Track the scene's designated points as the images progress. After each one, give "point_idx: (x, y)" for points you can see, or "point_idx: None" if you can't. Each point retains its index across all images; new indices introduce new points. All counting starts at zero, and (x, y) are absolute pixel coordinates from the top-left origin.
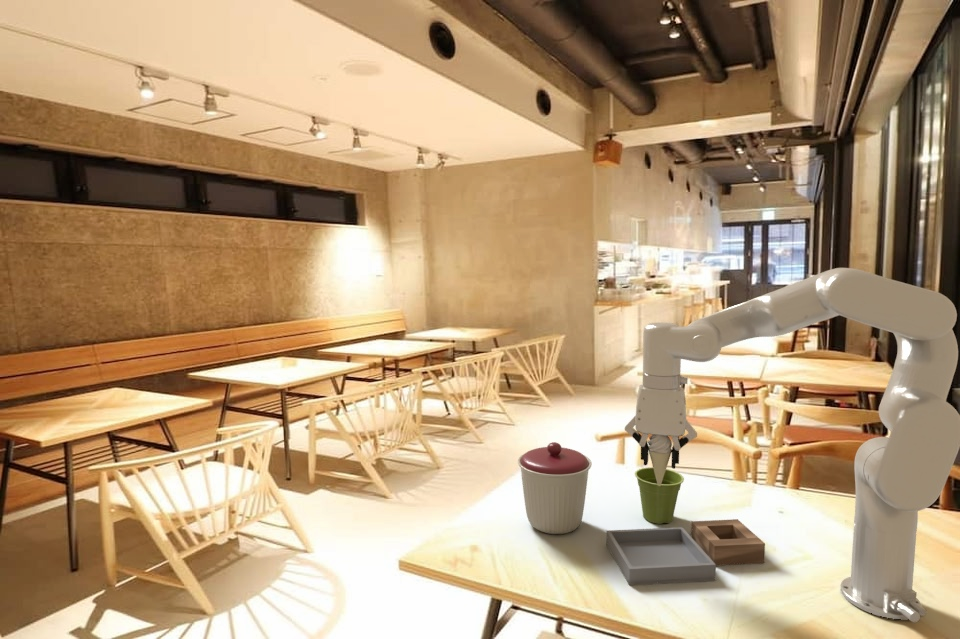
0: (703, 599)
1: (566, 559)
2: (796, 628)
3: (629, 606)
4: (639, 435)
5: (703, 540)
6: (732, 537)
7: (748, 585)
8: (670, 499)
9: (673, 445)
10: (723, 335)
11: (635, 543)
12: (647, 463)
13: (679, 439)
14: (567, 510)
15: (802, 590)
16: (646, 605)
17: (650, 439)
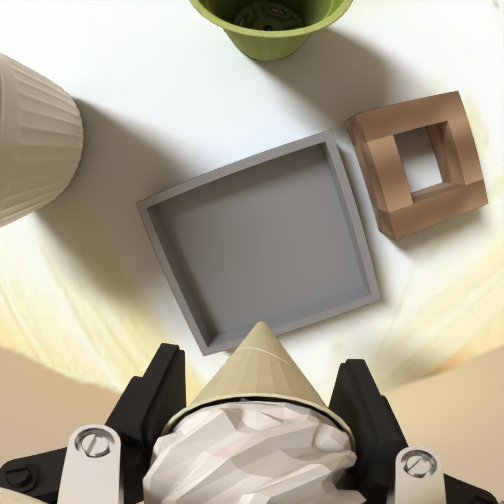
0: (336, 347)
1: (89, 278)
2: (440, 369)
3: None
4: (55, 493)
5: (375, 183)
6: (432, 124)
7: (421, 284)
8: (305, 36)
9: (366, 500)
10: None
11: (211, 189)
12: (185, 394)
13: (438, 501)
14: (35, 205)
15: (487, 274)
16: None
17: (159, 494)
